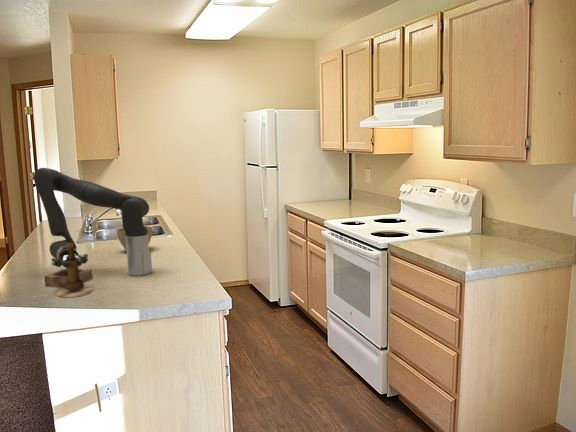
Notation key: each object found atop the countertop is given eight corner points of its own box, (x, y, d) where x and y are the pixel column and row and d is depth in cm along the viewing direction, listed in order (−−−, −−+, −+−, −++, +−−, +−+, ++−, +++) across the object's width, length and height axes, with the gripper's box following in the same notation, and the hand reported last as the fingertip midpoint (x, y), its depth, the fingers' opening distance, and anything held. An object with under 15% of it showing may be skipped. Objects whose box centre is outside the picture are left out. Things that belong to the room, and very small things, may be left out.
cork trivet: (99, 288, 204) (99, 287, 204) (78, 298, 192) (78, 297, 192) (72, 286, 208) (71, 285, 208) (49, 296, 196) (49, 295, 195)
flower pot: (158, 247, 281) (157, 225, 279) (146, 255, 263) (144, 231, 261) (126, 247, 282) (125, 225, 281) (112, 255, 265) (110, 231, 263)
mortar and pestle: (64, 291, 196) (59, 245, 193) (66, 286, 202) (62, 241, 199) (82, 289, 198) (78, 243, 195) (84, 284, 204) (80, 240, 201)
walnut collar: (92, 278, 220) (91, 269, 219) (71, 287, 207) (70, 277, 206) (67, 277, 223) (66, 268, 223) (45, 286, 210) (44, 276, 210)
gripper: (47, 249, 207) (51, 257, 192) (85, 244, 213) (92, 252, 199) (49, 267, 208) (53, 277, 193) (86, 262, 215) (93, 271, 200)
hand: (73, 264), depth 196 cm, fingers closed on mortar and pestle, 4 cm apart
